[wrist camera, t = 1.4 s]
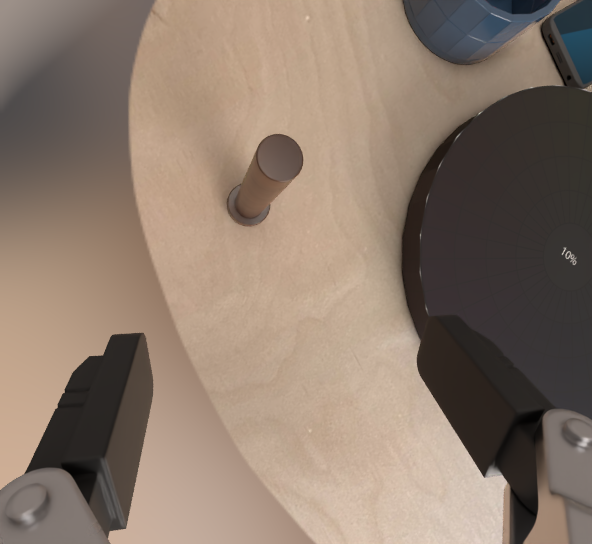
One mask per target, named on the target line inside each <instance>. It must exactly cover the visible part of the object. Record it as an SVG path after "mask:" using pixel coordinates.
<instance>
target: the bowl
mask: <svg viewBox="0 0 592 544" xmlns="http://www.w3.org/2000/svg"><path fill="white" fill-rule="evenodd" d="M559 1H560V0H403V2H404V7H405V11H406V14H407V17H408V20H409V22H410V25H411V26H412V28H413V30H414V32H415V33H416V35H417V36H418V38H419V39H420V40H421V41H422V43H423V44H424V45H425V46H426V47H427V48H428V49H429V50H431V51H432V52H433V53H434V54H436V55H437V56H439V57H441V58H443V59H445V60H447V61H450V62H453V63H457V64H474V63H478V62H481V61H484V60H486V59H488V58H489V57H491V56H492V55H493V54H495V53H497V52H498V51H500V50H501V49H503V48H504V47H505V46H507V45H508V44H509V43H511V42H512V41H513V40H515V39H516V38H517V37H519V36H520V35H521V34H523V33H524V32H525V31H527V30H528V29H529V28H531V27H532V26H533V25H535V24H536V23H537V22H539V21H540V20H541V19H543V18H544V17H545V16H547V15H548V14H549V13H551V12H552V11H553V9H554V8H555V7H556V5H557V4H558V3H559Z"/></svg>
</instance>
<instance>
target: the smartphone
mask: <svg viewBox="0 0 592 544" xmlns="http://www.w3.org/2000/svg"><path fill="white" fill-rule="evenodd" d="M542 30H543V34H544V37H545V39H546V42H547V44H548V46H549V48H550V50H551V52H552V54H553V57H554V59H555V61H556V63H557V65H558V67H559V70H560V72H561V74H562V76H563V78H564V80H565V82H566V84H567V86H568V87H573V88H580V89H584V88H586V87H588V86H589V85H591V84H592V0H578V1H576V2H574V3H572V4H571V5H569V6H567V7H565V8H564V9H562V10H560V11H558V12H557V13H555V14H553V15H552V16H550V17H549V18H548V19H547V20H546V21H545V22H544V23H543V27H542Z"/></svg>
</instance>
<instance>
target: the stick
mask: <svg viewBox="0 0 592 544" xmlns="http://www.w3.org/2000/svg"><path fill="white" fill-rule="evenodd" d="M302 166H303V154H302V151H301V149H300V147H299V145H298V144H297V143H296V142H295V141H294V140H293V139H292V138H290V137H288V136H286V135H282V134H274V135H270V136H268V137H266V138H265V139H263V140H262V141H261V143H260V144H259V146H258V148H257V150H256V152H255V155H254V157H253V159H252V162H251V164H250V166H249V168H248V171H247V173H246V175H245V178H244V180H243V182H242V184H240V185H238V186H236V187H235V188H234V189H233V190H232V191H231V193H230V195H229V197H228V201H227V208H228V212H229V214H230V216H231V217H232V219H233V220H234V221H235V222H237V223H238V224H240V225H243V226H254V225H257V224H259V223H260V222H262V221H263V220H264V219H265V218H266V216H267V215H268V213H269V210H270V203H271V202H272V201H273V200H274V199H275V198H276V197H277V196H278V195H279V194H280V193H281V192H282V191H283V190H284V189H285V188H286V187H287V186H288V185H289V184H290V183H291V181H292V180H293V179H294V178H295V177H296V176H297V175H298V174H299V173H300V171H301V169H302Z"/></svg>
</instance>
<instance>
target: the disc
mask: <svg viewBox="0 0 592 544" xmlns="http://www.w3.org/2000/svg"><path fill="white" fill-rule="evenodd" d="M403 277H404V283H405V289H406V295H407V301H408V306H409V309H410V312H411V315H412V317H413V320H414V323H415V326H416V328H417V331H418V334H419V337H420V339H421V340H422V336H423V333H424V329H425V325H426V322H427V320H428V318H429V317H430V316H439V315H458V316H459V317H460V318H461V319H462V320H463V321H464V322H465V323H466V324H467V325H468V326H469V327H470V328H471V329H472V330H475V331H477V332H478V333H480V334H482V335H483V336H485V337H486V338H488V339H489V340H491V341H492V342H493V343H494V344H495V345H496V346H497V347H498V348H499V349H500V350H501V351H502V352H503V353H504V356H505V357H508V358H509V359H510V360H511V361H512V362H513V363H514V365H515V368H518V369H519V370H520V371H521V372H522V373H523V374H524V375H525V376H526V377H527V378H528V379H529V380H530V381H531V382H532V383H533V384H534V385H535V386H536V387H537V388H538V390H539V391H540V392H541V393H542V394H543V395H544V396H545V397H546V398H547V399H548V400H549V401H550V402H551V403H552V404H553V405H554V406H555V407H556V408H557V409H566V410H570V411H574V412H576V413H579V414H581V415H583V416H585V417H587V418H589V419H591V420H592V92H590V91H587V90H585V89H580V88H573V87H567V86H561V85H552V86H541V87H531V88H528V89H525V90H522V91H519V92H517V93H514V94H511V95H508V96H505V97H503V98H502V99H500V100H499V101H497V102H496V103H494V104H493V105H491V106H490V107H488V108H487V109H485V110H484V111H482V112H480V113H479V114H478V115H476V116H475V117H473V118H471V119H470V120H468V121H467V122H465V123H464V124H462V125H461V126H459V127H458V128H457V129H456V130H455V131H454V132H453V133H452V134H451V135H450V136H449V137H448V138H447V139H446V140H445V141H444V142H443V143H442V144H441V145H440V146H439V147H438V149H437V150H436V152H435V153H434V155H433V157H432V158H431V160H430V161H429V163H428V164H427V166H426V168H425V169H424V171H423V172H422V174H421V176H420V179H419V181H418V184H417V187H416V189H415V192H414V194H413V197H412V199H411V202H410V205H409V209H408V215H407V220H406V225H405V231H404V236H403Z"/></svg>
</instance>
